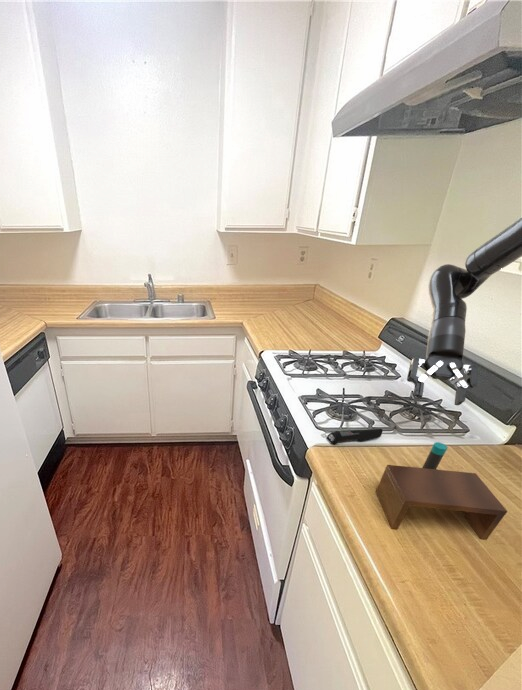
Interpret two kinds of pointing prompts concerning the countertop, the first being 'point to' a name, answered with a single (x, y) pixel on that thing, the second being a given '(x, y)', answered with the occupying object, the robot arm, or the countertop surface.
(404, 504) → the shelf
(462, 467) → the countertop surface
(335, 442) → the electric trimmer
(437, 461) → the marker
